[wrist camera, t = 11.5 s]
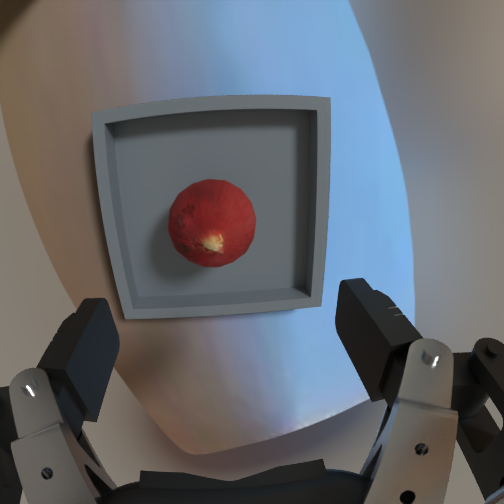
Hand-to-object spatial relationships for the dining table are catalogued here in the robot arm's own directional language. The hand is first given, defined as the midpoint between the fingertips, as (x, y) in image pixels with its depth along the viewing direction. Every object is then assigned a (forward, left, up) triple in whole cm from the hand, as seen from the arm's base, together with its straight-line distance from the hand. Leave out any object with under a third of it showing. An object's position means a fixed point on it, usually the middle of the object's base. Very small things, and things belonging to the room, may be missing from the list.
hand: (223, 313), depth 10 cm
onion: (0, -1, -15) cm, 15 cm away
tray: (0, 0, -16) cm, 16 cm away
